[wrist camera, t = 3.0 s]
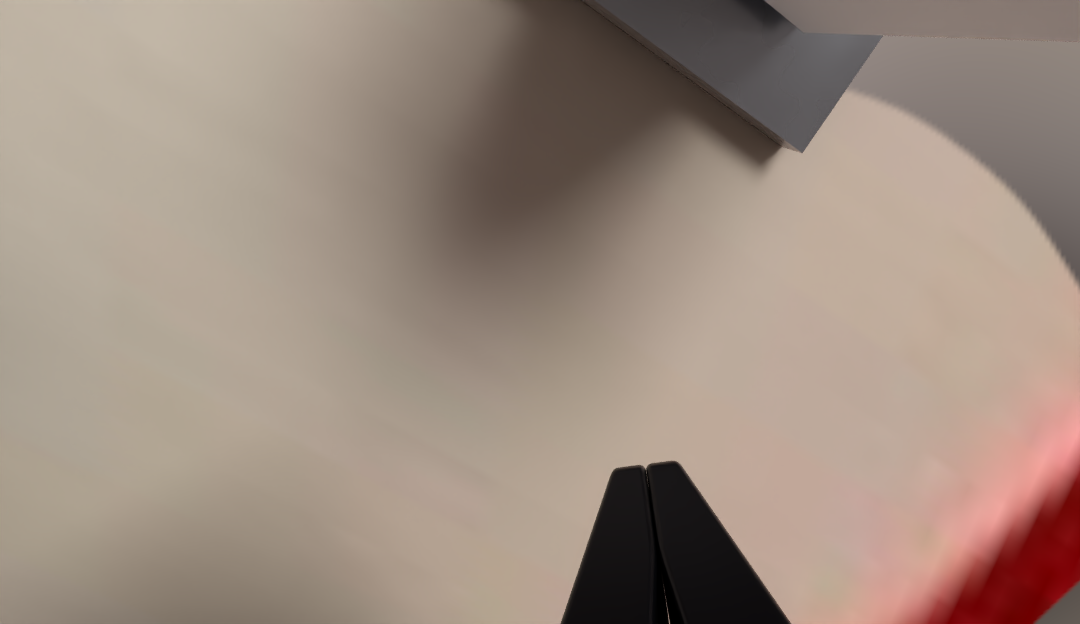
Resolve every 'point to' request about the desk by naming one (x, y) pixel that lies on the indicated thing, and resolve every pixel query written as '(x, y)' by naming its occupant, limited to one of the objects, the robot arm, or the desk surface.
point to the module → (938, 18)
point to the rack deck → (748, 59)
